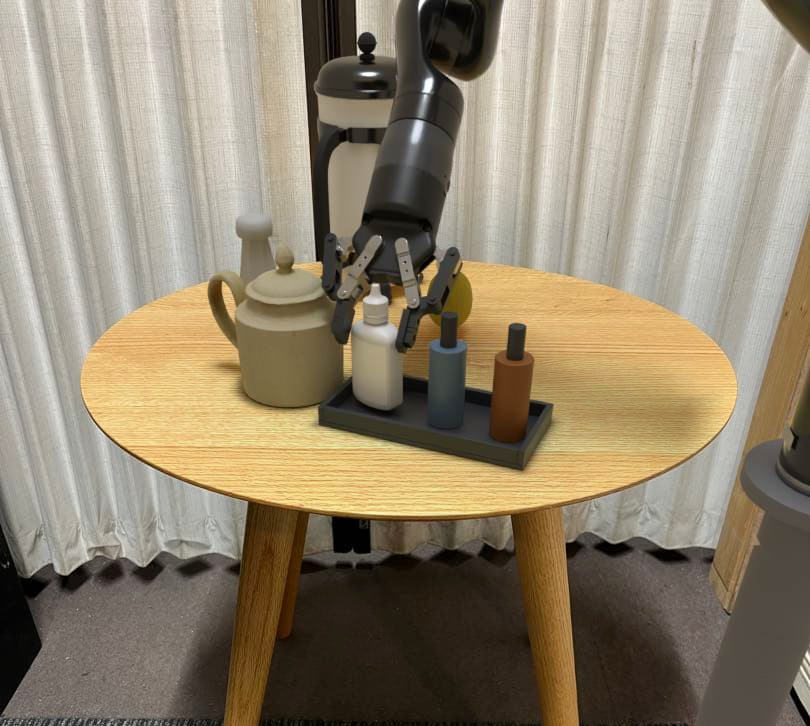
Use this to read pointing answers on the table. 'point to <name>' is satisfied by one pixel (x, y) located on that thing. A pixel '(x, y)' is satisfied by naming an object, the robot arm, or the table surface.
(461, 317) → the lemon
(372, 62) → the coffee press
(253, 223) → the salt shaker
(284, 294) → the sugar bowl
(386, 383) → the eye dropper bottle
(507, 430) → the amber bottle
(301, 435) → the table surface
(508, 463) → the tray
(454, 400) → the slate-blue bottle
